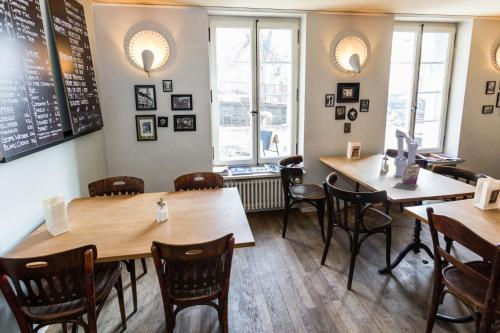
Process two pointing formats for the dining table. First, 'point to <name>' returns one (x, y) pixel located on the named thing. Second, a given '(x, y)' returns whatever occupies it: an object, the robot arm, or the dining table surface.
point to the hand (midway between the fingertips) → (410, 171)
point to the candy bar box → (410, 173)
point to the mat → (405, 186)
